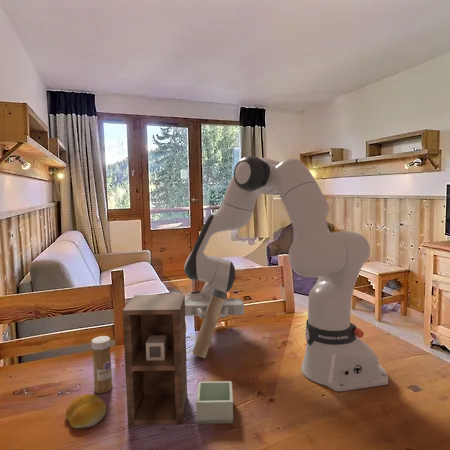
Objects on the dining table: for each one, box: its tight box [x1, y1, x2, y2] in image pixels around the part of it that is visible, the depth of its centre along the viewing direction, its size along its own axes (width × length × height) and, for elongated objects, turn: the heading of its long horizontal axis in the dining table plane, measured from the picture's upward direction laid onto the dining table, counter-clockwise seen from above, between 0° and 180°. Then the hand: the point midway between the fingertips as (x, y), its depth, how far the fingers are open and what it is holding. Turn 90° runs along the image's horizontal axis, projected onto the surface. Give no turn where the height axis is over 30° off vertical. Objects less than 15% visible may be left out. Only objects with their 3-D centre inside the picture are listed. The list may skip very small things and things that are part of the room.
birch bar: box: [191, 289, 228, 359], centre depth 105 cm, size 4×20×4 cm
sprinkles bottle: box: [90, 335, 113, 394], centre depth 88 cm, size 5×5×14 cm
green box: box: [195, 380, 234, 425], centre depth 79 cm, size 8×8×5 cm
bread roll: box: [65, 393, 107, 429], centre depth 78 cm, size 8×9×4 cm
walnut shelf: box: [122, 294, 188, 426], centre depth 79 cm, size 12×10×26 cm
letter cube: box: [146, 335, 167, 361], centre depth 78 cm, size 4×4×4 cm
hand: (212, 315), depth 105 cm, fingers closed on birch bar, 5 cm apart
